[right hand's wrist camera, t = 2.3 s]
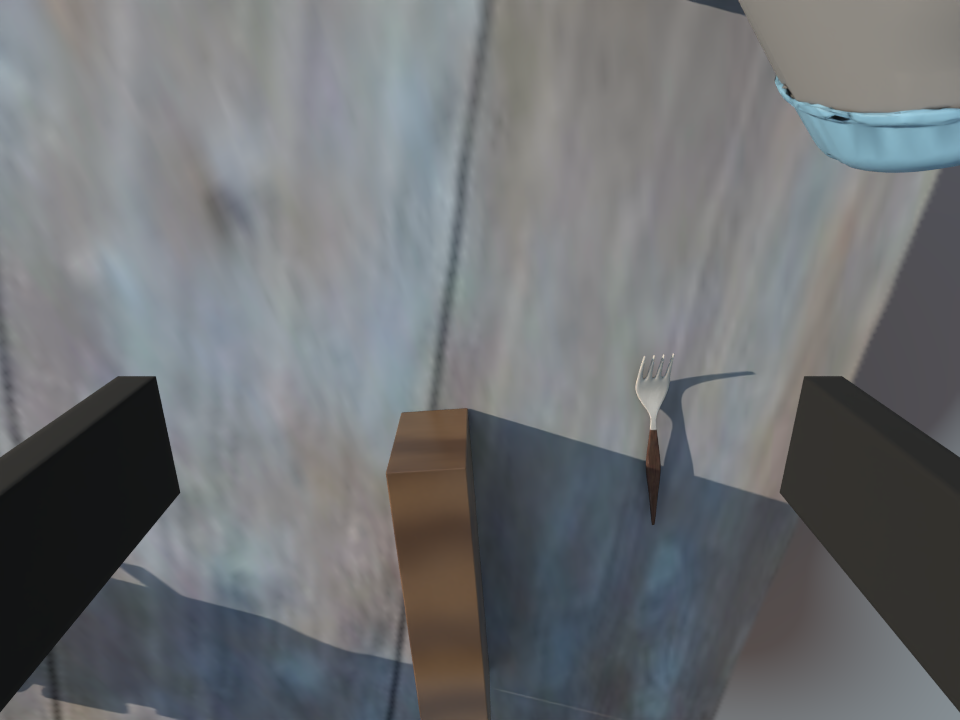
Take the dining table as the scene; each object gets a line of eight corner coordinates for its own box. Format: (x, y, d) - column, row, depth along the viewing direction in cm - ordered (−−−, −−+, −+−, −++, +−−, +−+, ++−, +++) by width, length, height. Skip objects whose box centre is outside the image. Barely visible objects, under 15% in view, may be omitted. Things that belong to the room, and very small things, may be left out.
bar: (401, 412, 48) (385, 473, 39) (467, 407, 48) (466, 467, 39) (434, 674, 58) (427, 768, 49) (489, 671, 57) (492, 764, 49)
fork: (635, 522, 51) (642, 537, 50) (634, 347, 46) (641, 356, 44) (666, 519, 51) (673, 534, 49) (669, 344, 46) (677, 353, 44)
